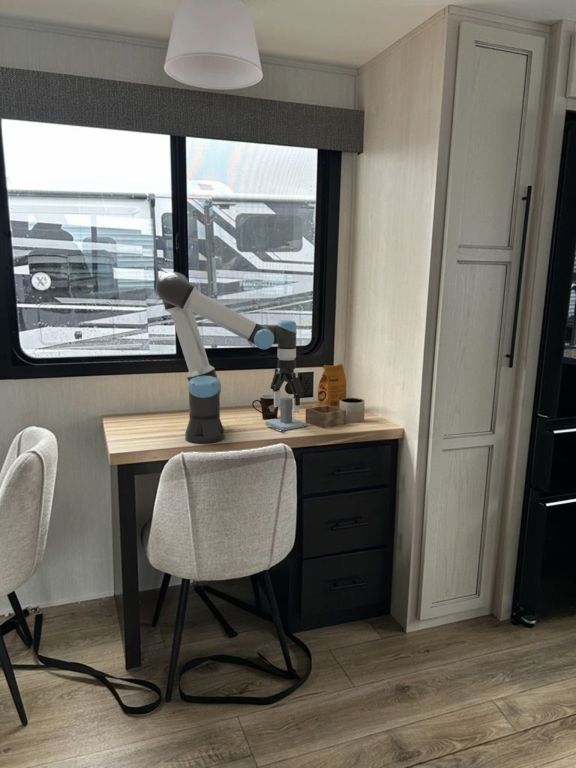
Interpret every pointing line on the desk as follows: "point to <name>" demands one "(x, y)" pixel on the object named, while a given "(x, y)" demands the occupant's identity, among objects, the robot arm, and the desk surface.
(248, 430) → the desk surface
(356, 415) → the planter
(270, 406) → the coffee mug
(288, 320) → the robot arm
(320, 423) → the crate
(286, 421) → the lid
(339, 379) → the coffee package
